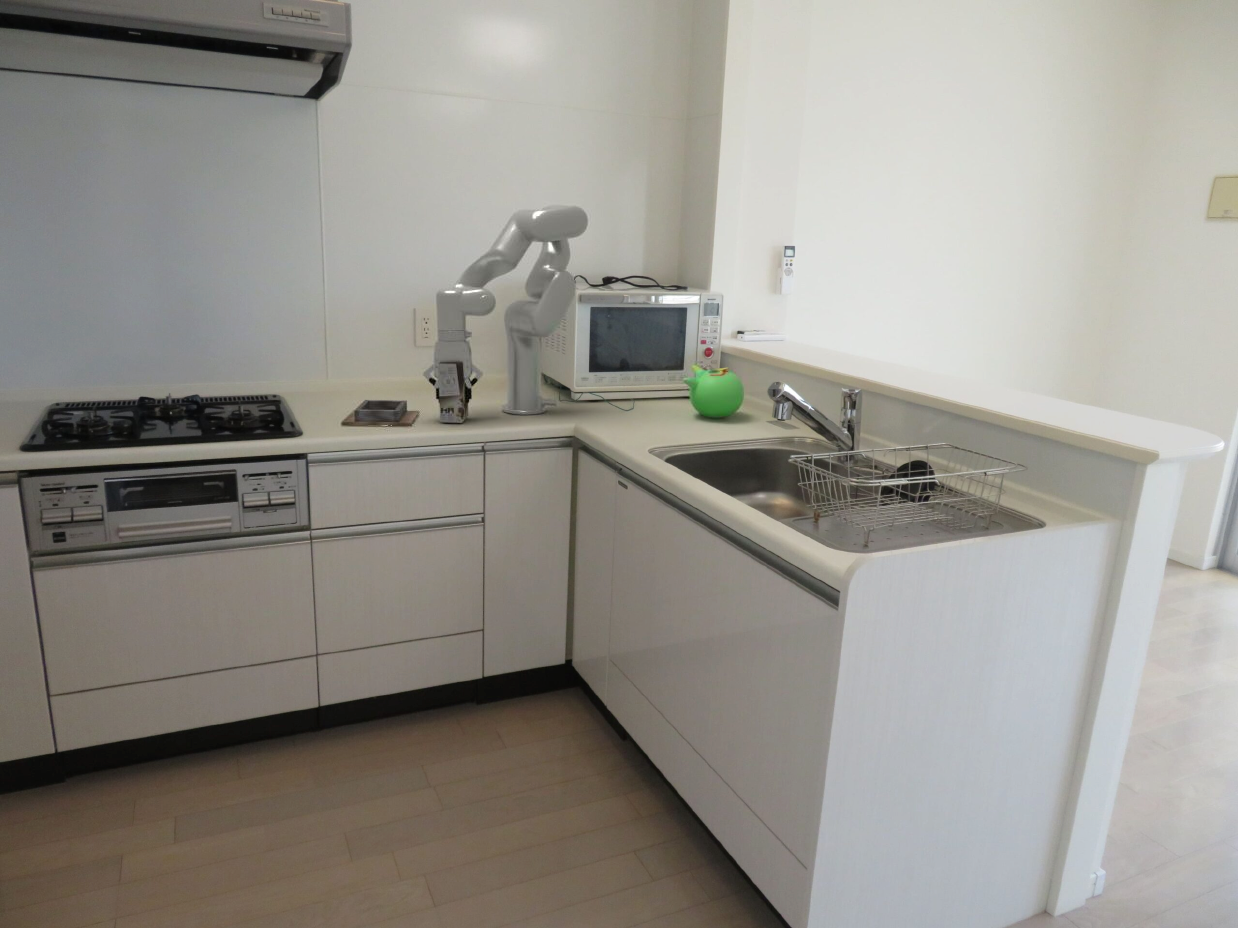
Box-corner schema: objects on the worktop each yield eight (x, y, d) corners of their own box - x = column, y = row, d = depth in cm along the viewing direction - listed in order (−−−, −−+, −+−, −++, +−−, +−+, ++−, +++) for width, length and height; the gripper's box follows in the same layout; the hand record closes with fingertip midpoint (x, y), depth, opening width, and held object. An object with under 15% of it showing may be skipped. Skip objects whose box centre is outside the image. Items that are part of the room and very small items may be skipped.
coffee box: (463, 423, 241) (461, 363, 237) (439, 422, 241) (437, 363, 237) (469, 415, 250) (467, 358, 246) (446, 415, 250) (444, 357, 246)
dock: (419, 414, 252) (419, 400, 251) (411, 426, 237) (410, 411, 236) (354, 413, 251) (353, 399, 250) (341, 425, 235) (340, 410, 234)
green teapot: (740, 425, 252) (743, 373, 248) (680, 420, 255) (682, 369, 251) (744, 412, 269) (747, 364, 265) (688, 408, 272) (690, 360, 268)
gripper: (485, 334, 244) (487, 399, 249) (420, 334, 243) (423, 399, 247) (483, 338, 237) (485, 404, 242) (417, 338, 235) (419, 404, 240)
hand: (454, 401), depth 244 cm, fingers closed on coffee box, 6 cm apart
